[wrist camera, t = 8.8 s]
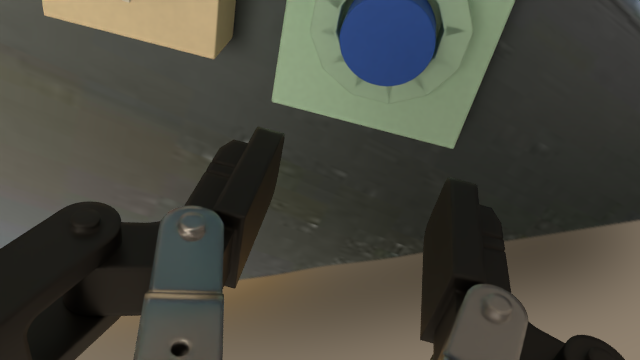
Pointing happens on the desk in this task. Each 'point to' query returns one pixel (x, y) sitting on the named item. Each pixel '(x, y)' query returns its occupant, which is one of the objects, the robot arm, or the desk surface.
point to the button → (388, 40)
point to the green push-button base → (389, 101)
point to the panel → (155, 21)
